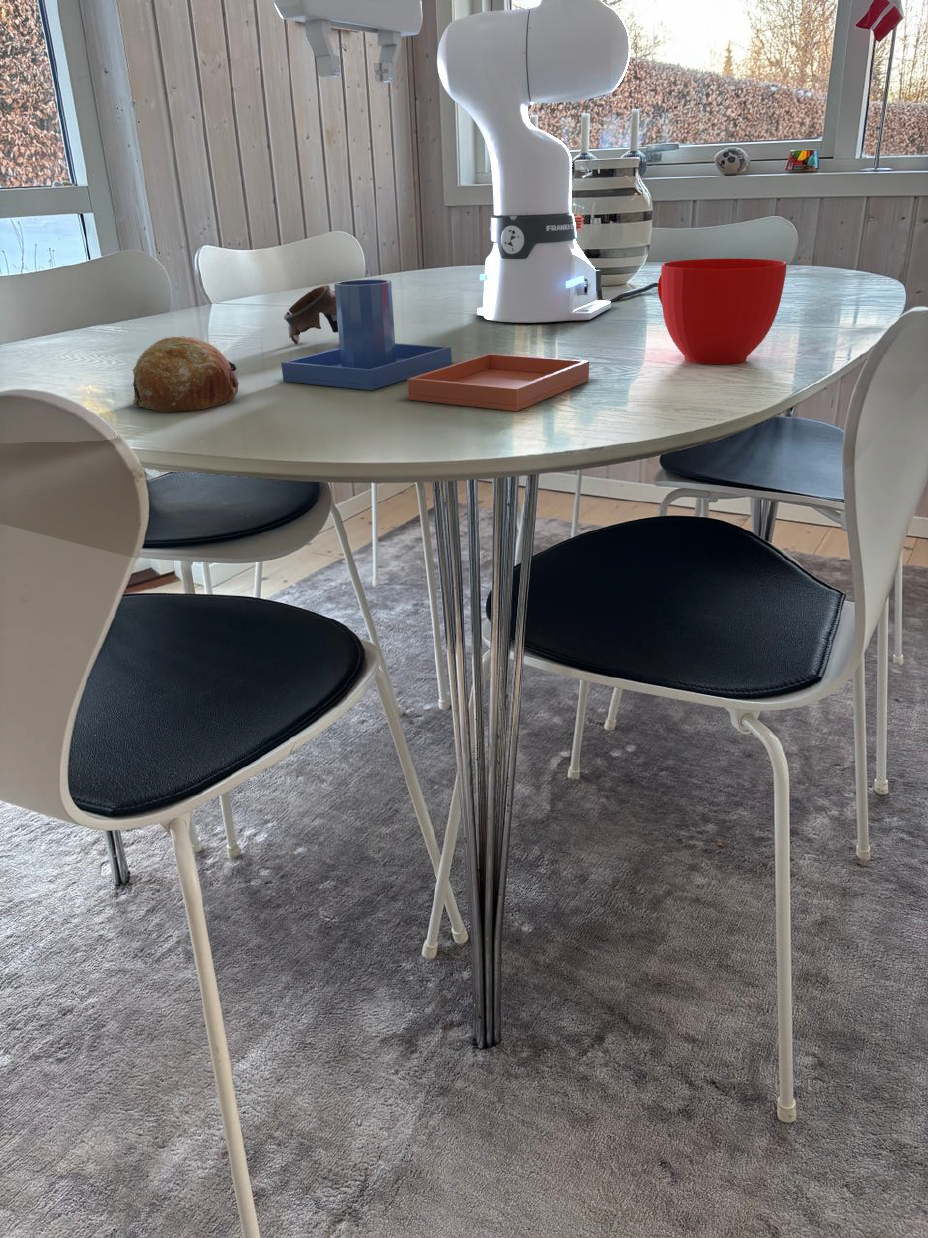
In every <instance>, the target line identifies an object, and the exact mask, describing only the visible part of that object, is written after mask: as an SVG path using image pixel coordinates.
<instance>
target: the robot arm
mask: <svg viewBox="0 0 928 1238" xmlns="http://www.w3.org/2000/svg"><path fill="white" fill-rule="evenodd" d="M516 1H517V2H518V3H519V4H521V5H523V6H525V7H527V8H518V9H504V10H503V9H501V10H488V11H487V10H486V11H481V12H478V13H474V14H470V15H467V16H464V17H461V18H458V19H455V20H451V22H450V23H448V25H447V26H446V28H444V31H443V33H442V34H441V38H440V40H439V42H438V47H437V54H436V66H437V72H438V76H439V80H440V82H441V85H442V86H443V88H444V90H445V91H446V93H447V95H449V97H450V98H451V99H452V100H453V101H455V103H457V105H459V106H461V108H462V109H464V110H465V111H466V113H468V114H469V116H470V117H471V118H472V119H473V121H474V122H475V124H476V125H477V127H478V129H479V131H480V133H481V135H482V137H483V139H484V143H485V145H486V148H487V152H488V155H489V156H488V157H489V161H490V170H491V181H492V196H493V198H492V199H493V200H492V201H493V215H492V216H491V217H490V226H489V231H490V241H491V243H493V246H492V248H491V251H490V253H489V254H488V255H487V257H486V258H485V263H484V273H481V274H479V281H483V296H482V297H483V298H482V306H479V307H477V310H476V315H477V316H481V317H483V318H484V320H487V321H493V322H499V323H500V322H501V323H553V322H565V321H567V322H568V321H588V320H591V319H593V318H595V317H597V316H598V315H600V314H602V313H604V312H606V311H608V310H609V309H611V308H612V304H611V303H614V302H618V301H621V300H622V299H624V298H627V297H631V296H634V295H637V294H641V293H645V292H647V291H649V290H650V291H651V290H652V289H655V288H658V281H657V282H652V283H650V284H648V285H645V286H643V287H639V288H634V289H632V290H627V291H624V292H621V293H619V294H617V295H616V296H614V297H612V298H610V299H606V298H605V297H604V296H603V290H602V269H595V266H593V265H592V263H591V262H590V260H589V259H588V257H587V256H586V255H585V254H584V252H583V251H582V249H581V248H580V246H579V245H578V243H577V241H576V239H577V238H578V234H577V231H581V230H583V227H584V223H585V222H584V218H583V215H582V214H578V215H574V213H573V212H572V173H573V172H572V171H573V169H572V167H573V166H572V165H573V163H572V155H571V153H570V151H569V149H568V148H567V146H566V145H565V144H564V143H563V142H562V141H561V140H560V139H558V138H556V137H555V136H553V135H551V134H549V133H548V132H546V131H544V130H542V129H540V128H538V127H536V126H534V125H533V124H532V123H531V121H530V118H529V115H528V107H529V106H531V105H533V104H534V105H535V104H551V103H553V104H555V103H573V102H575V103H576V102H582V101H586V100H591V99H595V98H598V97H602V96H604V95H608V94H612V93H614V91H615V90H616V89H617V88H618V86H619V85H620V83H621V82H622V80H623V78H624V76H625V74H626V72H627V69H628V66H629V62H630V57H631V42H630V35H629V32H628V31H629V30H628V29H627V26H626V24H625V22H624V20H623V18H622V17H621V16H620V13H618V12H617V11H616V9H614V8H612V7H611V6H609V5H607V4H605V2H603V1H602V0H516ZM273 3H274V6H275V8H276V10H277V12H278V15H279V16H280V17H281V19H283V20H286V21H292V22H298V23H304V27H305V36H306V38H307V41H308V43H309V45H310V47H311V49H312V52H313V54H314V56H315V57H316V67H317V75H318V76H319V77H321V78H338V77H339V76H340V75H341V67H340V66H341V65H340V64H341V62H340V56H339V55H335V53H334V51H333V47H332V45H331V41H330V38H329V35H332V28H337V29H342V30H343V29H344V30H348V31H356V32H362V33H369V34H375V35H377V45H378V46H379V47H381V48H380V54H379V58H378V62H377V63H376V62H375V63H373V68H374V69H373V70H374V79H375V81H376V82H377V83H383V84H388V83H394V82H395V81H396V79H397V74H396V64H397V60H398V57H399V54H400V51H401V48H402V38H403V37H411V36H416V35H419V34H420V31H421V29H422V26H423V18H424V17H423V7H422V0H273Z"/></svg>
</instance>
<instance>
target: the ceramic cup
mask: <svg viewBox="0 0 928 1238" xmlns="http://www.w3.org/2000/svg"><path fill="white" fill-rule="evenodd" d="M660 271H661V273H660V276H659V278H658V281H657V282H658V287H657V294H658V298H659V301H660V304H661V307H662V315H663V319H664V323H665V326H666V329H667V333H668V335H669V336H670V339H671V340H672V342H673V344H674V345H675V346H676V348H677V350H678V351H679V352H680V353H681V354H682V355H683V357H684V359H685V360H686V361H688V362H691V363H697V364H705V365H706V364H707V365H727V364H728V365H729V364H739V363H742V362H745V361H747V358H748V357H749V356H750V355H751V354H752V353H753V352H754V351H755V350H756V349H757V348H758V347H759V346H760V345H761V344H762V342H763V341H764V339H765V338H766V336H767V335H768V333H769V332H770V330H771V328H772V326H773V324H774V322H775V320H776V317H777V314H778V311H779V308H780V304H781V301H782V297H783V291H784V287H785V281H786V274H787V263H786V262H785V261H781V260H775V259H763V258H698V259H683V260H674V261H668V262H663V263H662V264H661V269H660Z"/></svg>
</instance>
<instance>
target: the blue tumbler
mask: <svg viewBox="0 0 928 1238" xmlns="http://www.w3.org/2000/svg"><path fill="white" fill-rule="evenodd" d="M392 285H393V284H392V281H391V280H389V279H380V278H379V279H377V278H375V279H373V278H371V279H352V280H343V281H342V280H341V281H338V282H334V283H333V287H334V291H335V300H336V311H337V322H338V332H337V333H338V334H337V335H338V343H339V348H340V357H341V367H348V368H359V369H373V368H376V367H380V366H383V365H387V364H390V363H394V362H396V349H395V343H396V337H395V319H394V303H393V286H392Z"/></svg>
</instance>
